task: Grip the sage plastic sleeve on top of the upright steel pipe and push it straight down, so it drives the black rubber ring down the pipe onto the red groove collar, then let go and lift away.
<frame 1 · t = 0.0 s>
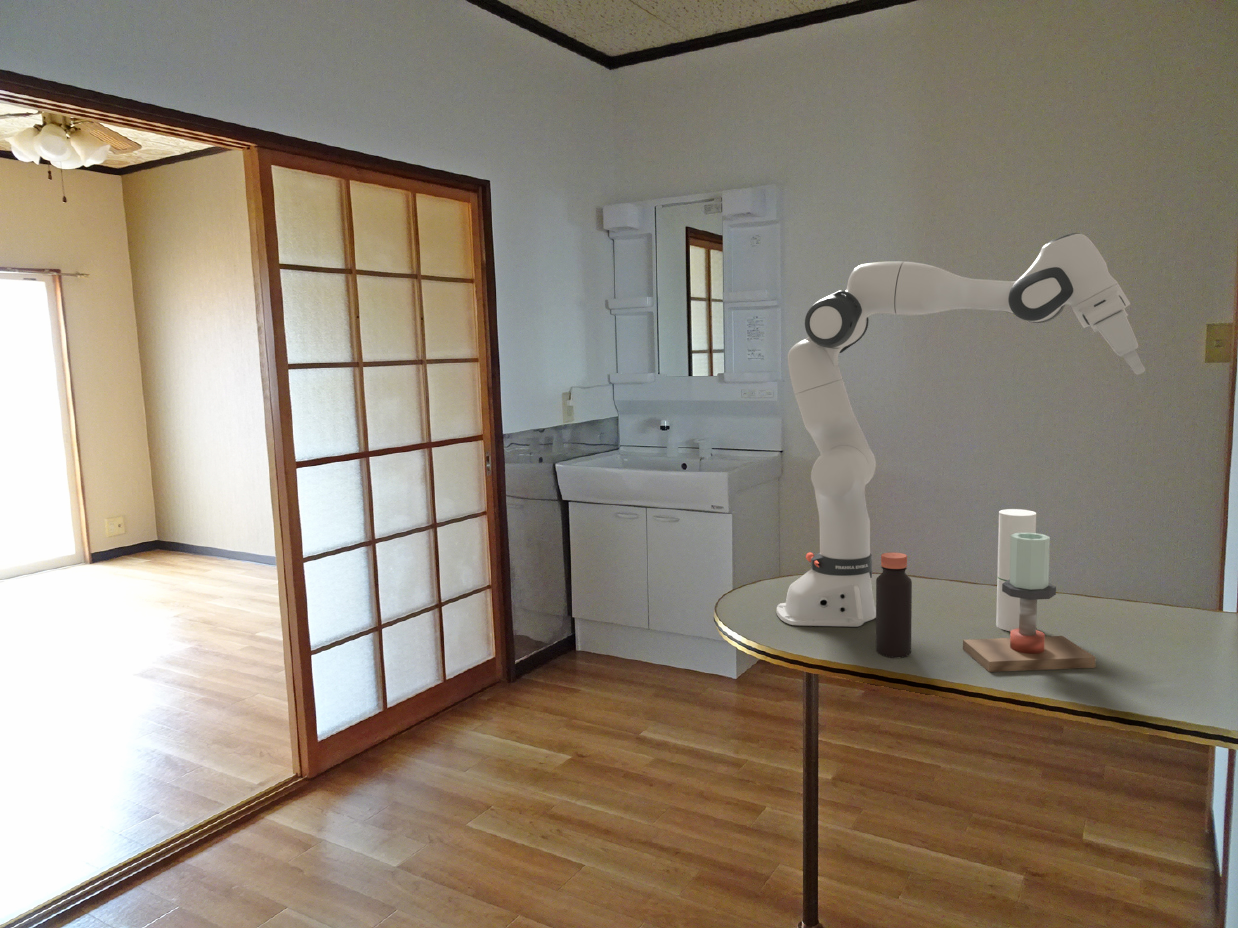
hand: (1139, 372, 164), 54 cm above the table, tool tilted 30°, fingers open, 8 cm apart
sleeve: (1029, 560, 165), point 19 cm above the table, slide at 8.0 cm
cylindrical container: (1014, 627, 185), on the table
o ring: (1028, 588, 166), point 14 cm above the table, slide at 8.0 cm
bottle: (893, 653, 173), on the table
pipe stand: (1026, 658, 167), on the table
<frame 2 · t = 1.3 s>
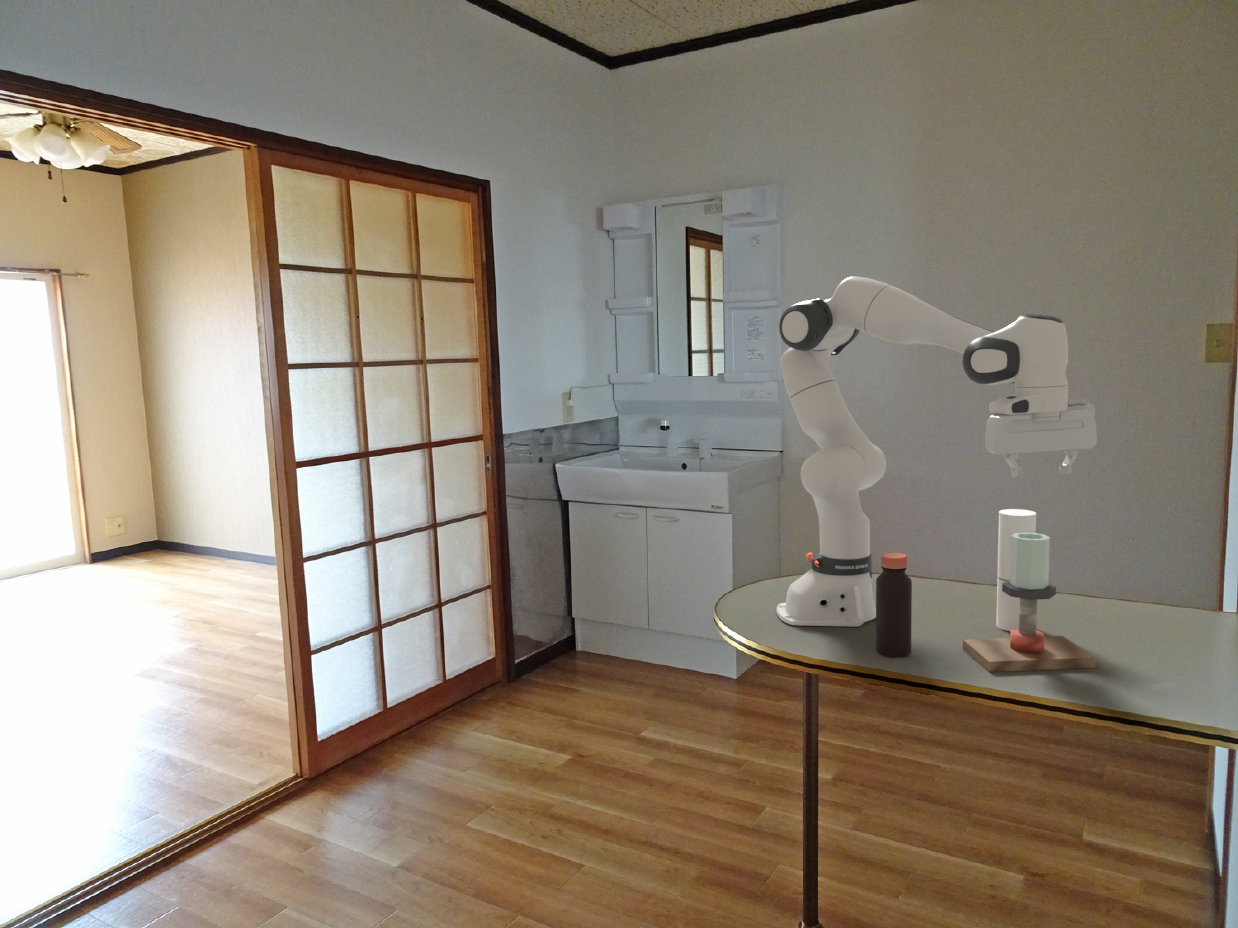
hand: (1040, 475, 163), 36 cm above the table, tool pointing down, fingers open, 8 cm apart
nothing on the table moved.
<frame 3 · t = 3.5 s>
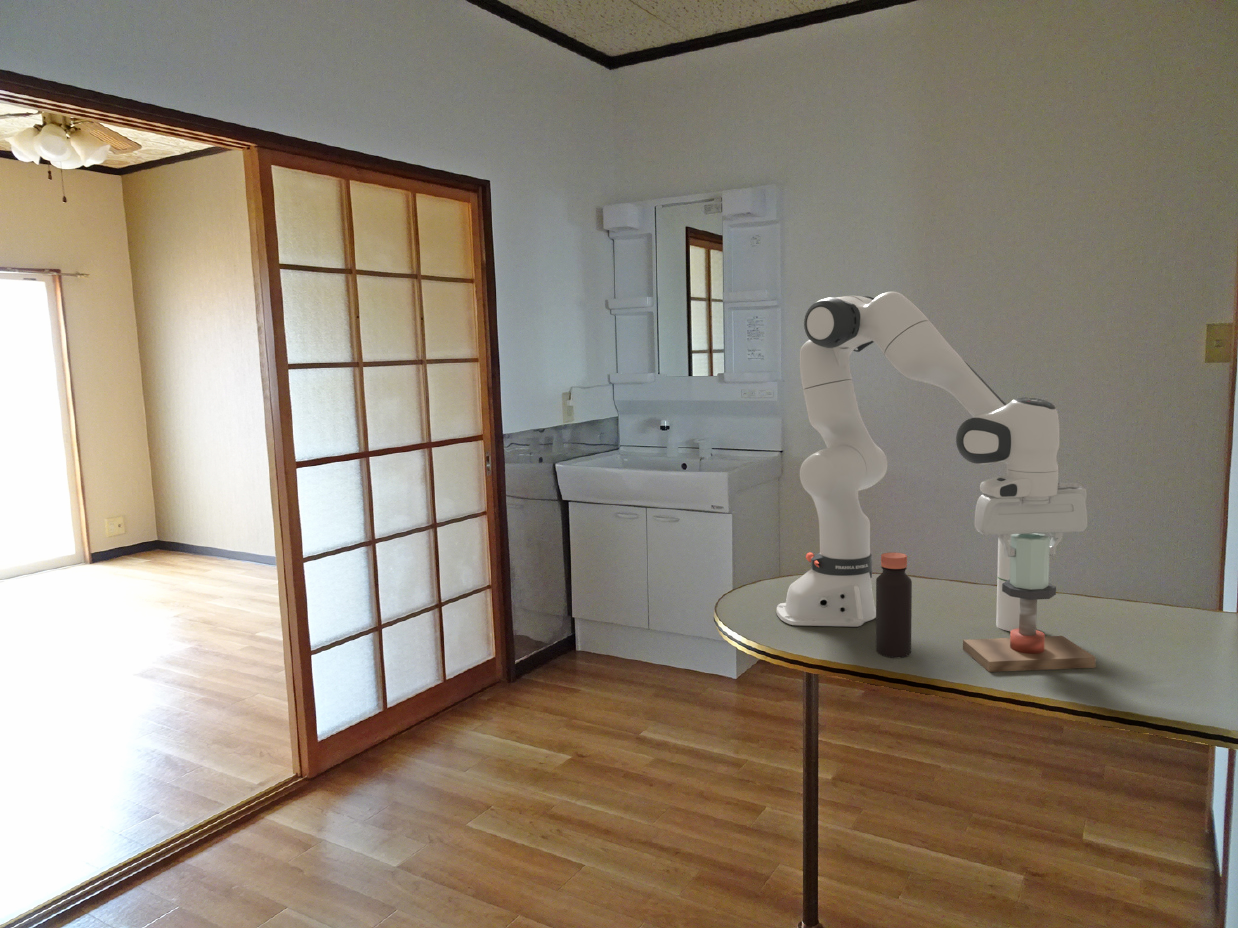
hand: (1029, 555, 165), 20 cm above the table, tool pointing down, fingers closed on sleeve, 6 cm apart
sleeve: (1029, 560, 165), point 19 cm above the table, slide at 8.0 cm, touching gripper
everything else where it was.
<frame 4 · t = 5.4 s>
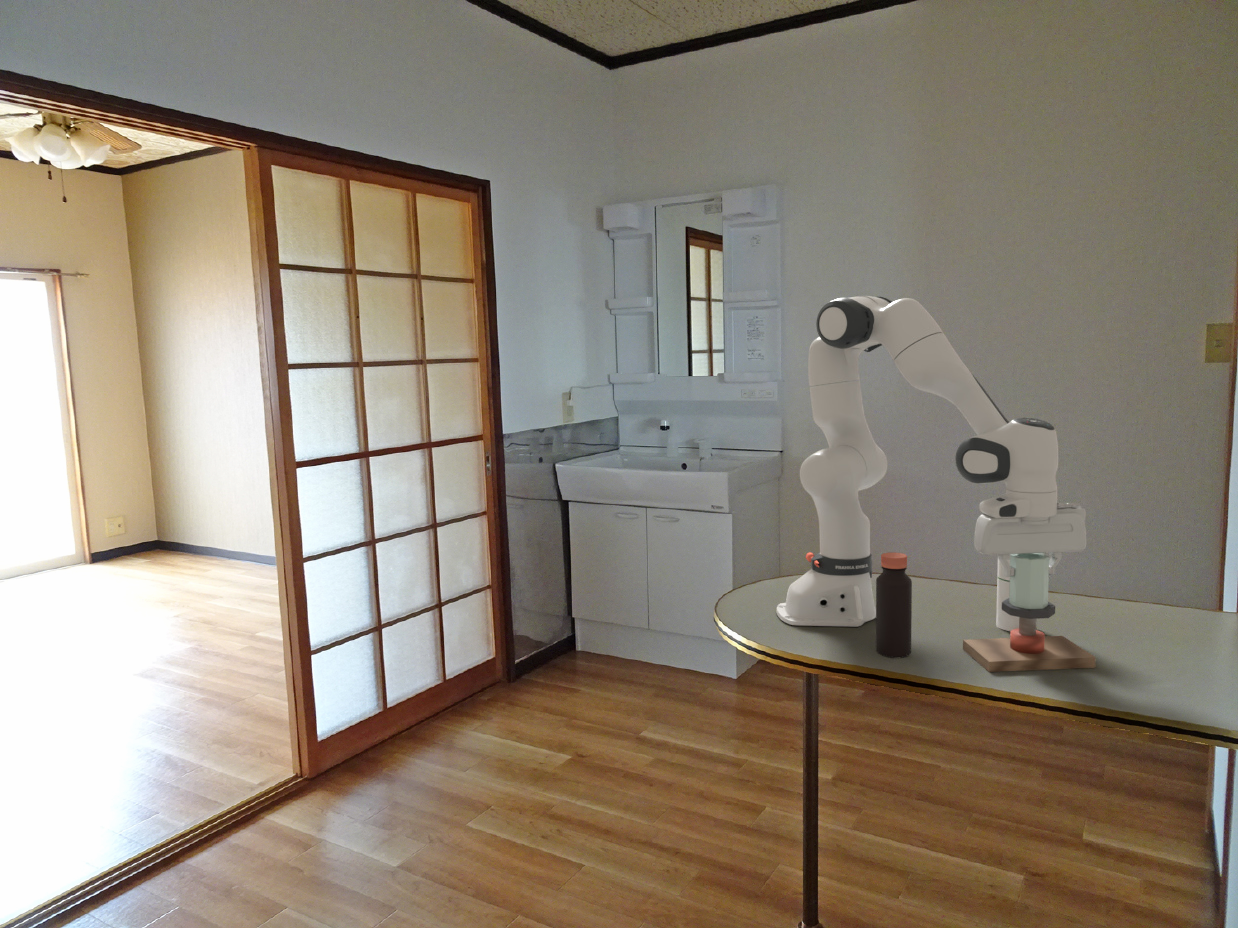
hand: (1029, 575, 165), 17 cm above the table, tool pointing down, fingers closed on sleeve, 6 cm apart
sleeve: (1029, 579, 165), point 16 cm above the table, slide at 4.2 cm, touching gripper, o ring
o ring: (1028, 607, 166), point 10 cm above the table, slide at 4.3 cm, touching sleeve
everything else where it was.
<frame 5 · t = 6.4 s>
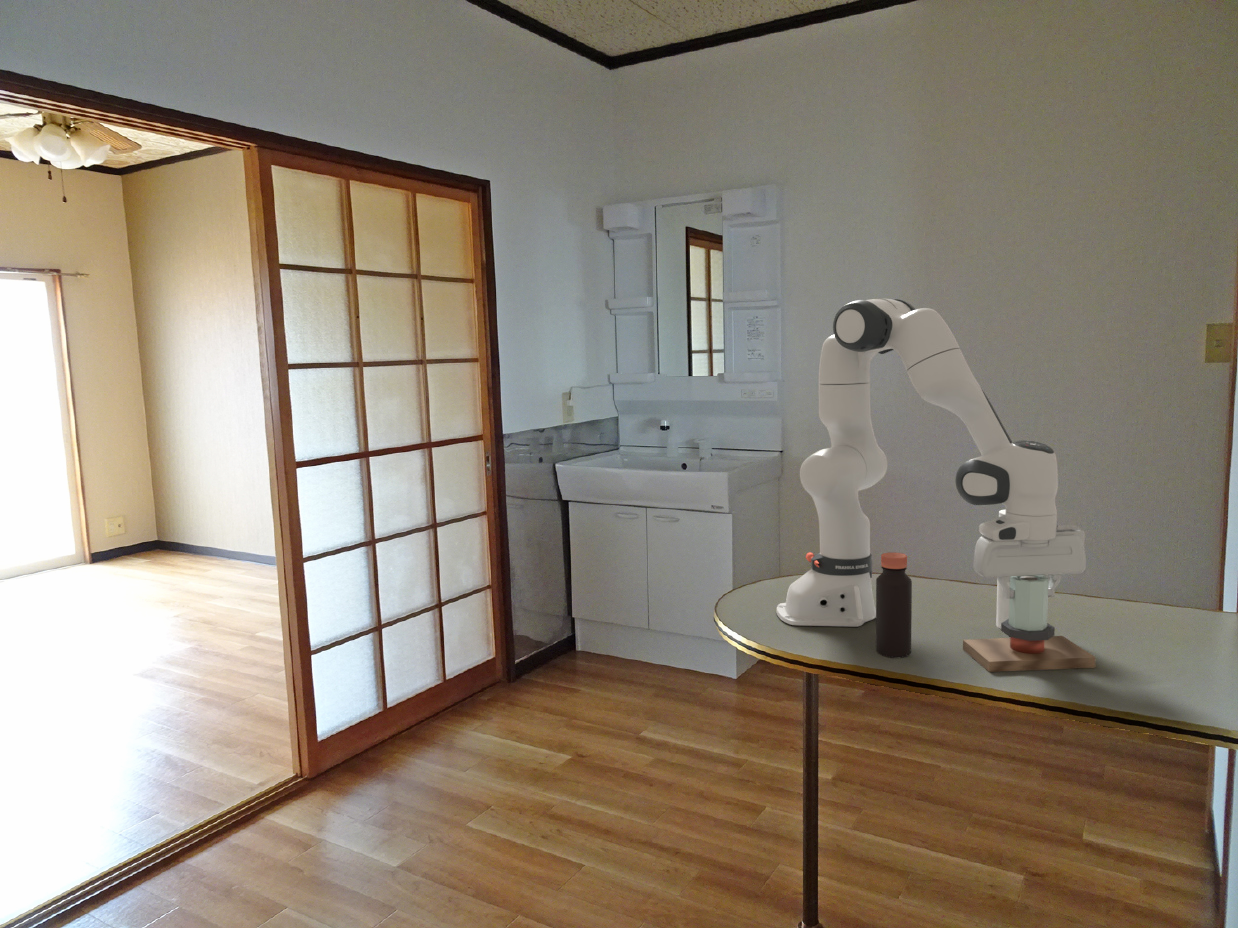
hand: (1028, 597, 166), 12 cm above the table, tool pointing down, fingers closed on sleeve, 6 cm apart
sleeve: (1028, 601, 166), point 11 cm above the table, slide at -0.1 cm, touching gripper
o ring: (1027, 628, 167), point 6 cm above the table, slide at 0.0 cm
everything else where it was.
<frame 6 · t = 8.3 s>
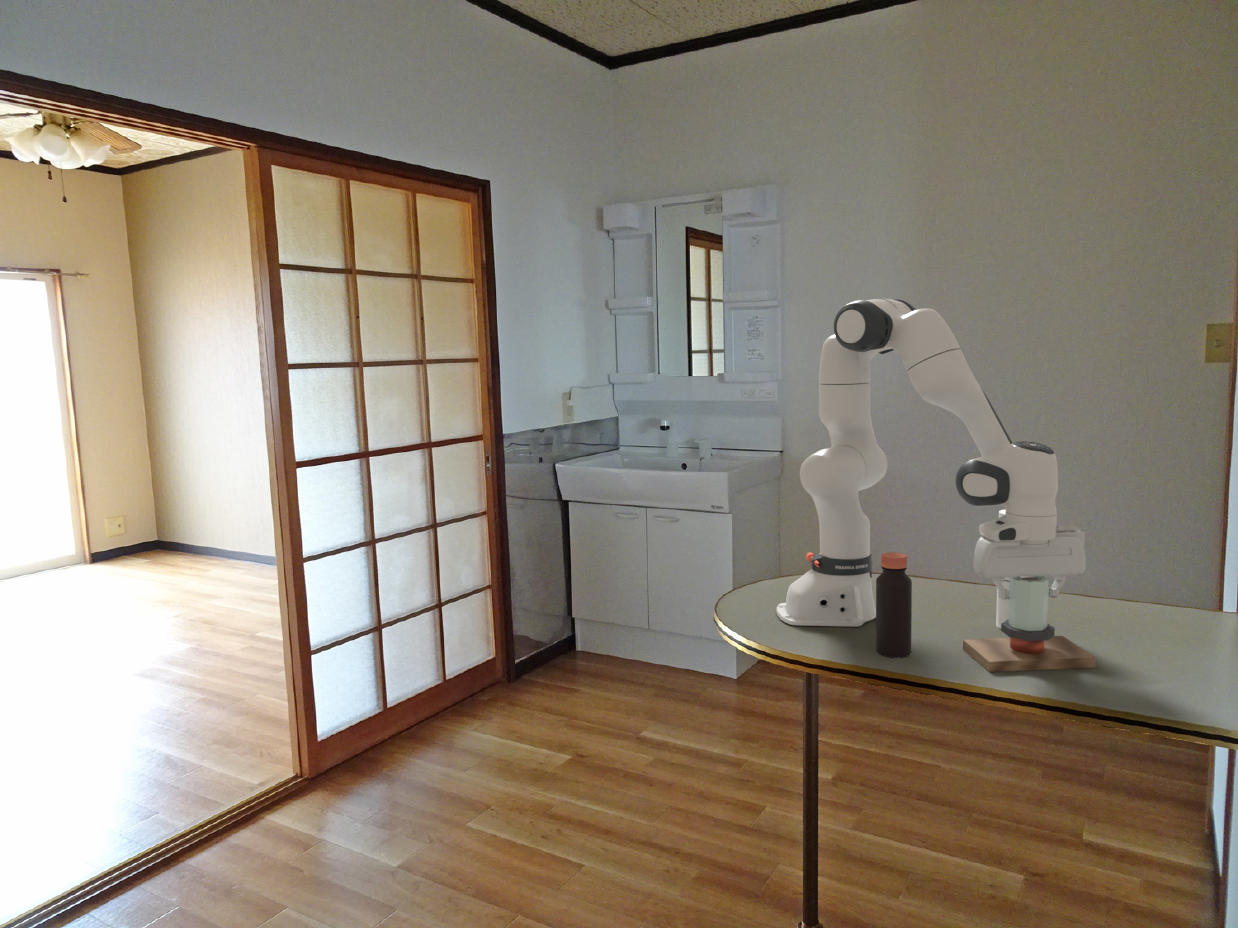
hand: (1028, 597, 166), 12 cm above the table, tool pointing down, fingers open, 8 cm apart
sleeve: (1028, 601, 166), point 11 cm above the table, slide at -0.1 cm
everything else where it was.
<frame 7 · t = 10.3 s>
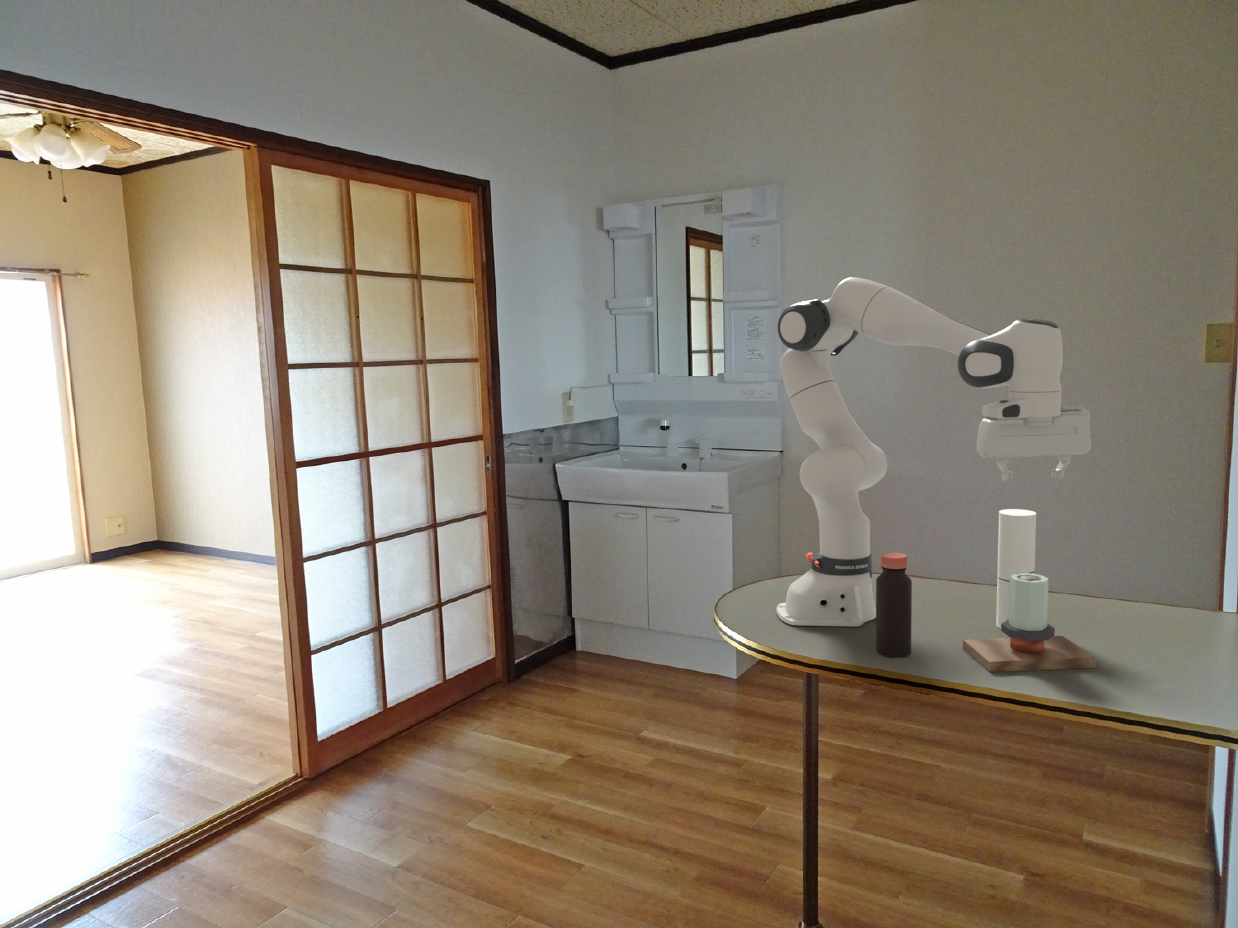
hand: (1032, 479, 163), 35 cm above the table, tool pointing down, fingers open, 8 cm apart
nothing on the table moved.
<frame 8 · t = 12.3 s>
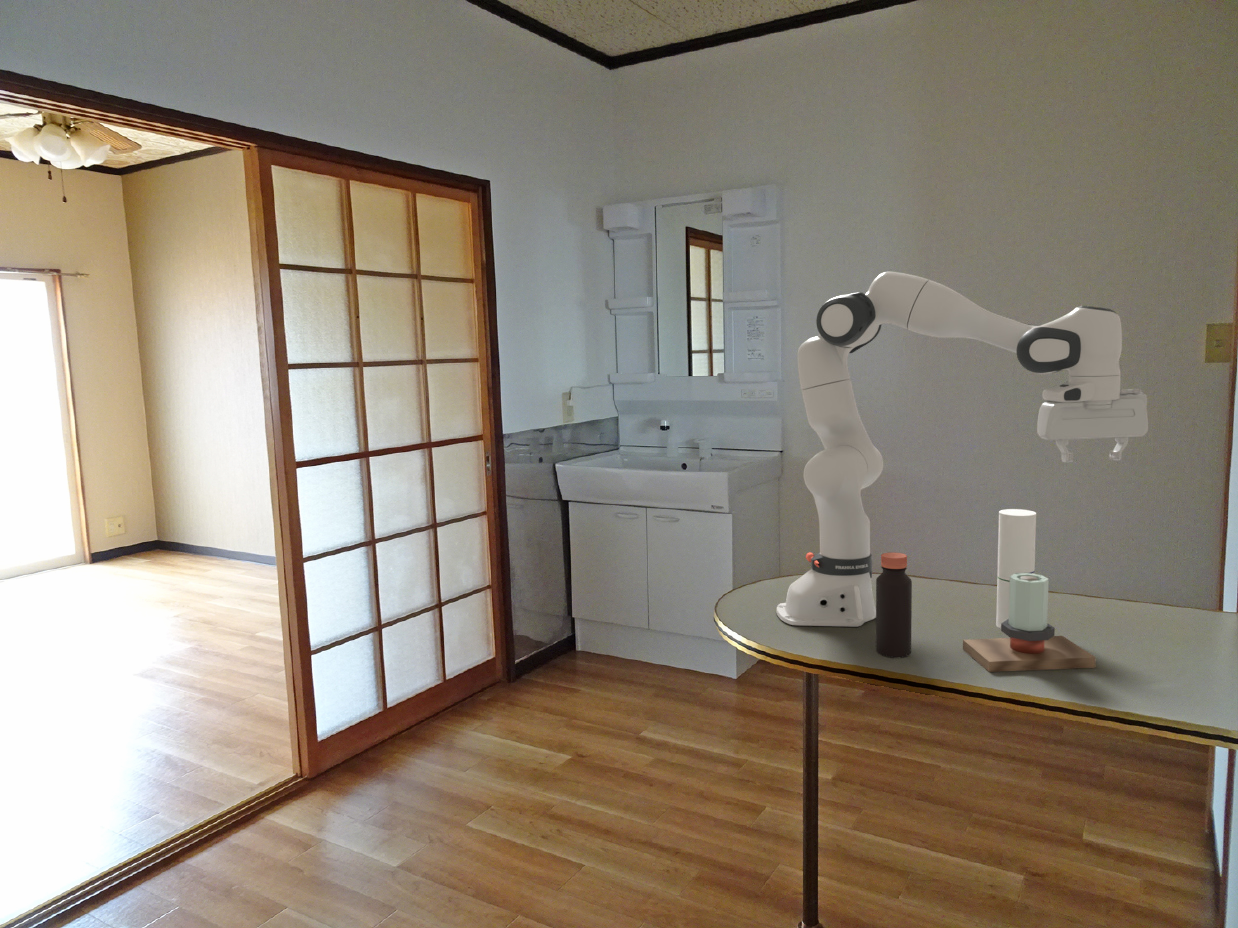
hand: (1091, 460, 169), 37 cm above the table, tool pointing down, fingers open, 8 cm apart
nothing on the table moved.
at the end: o ring slide at 0.0 cm; the gripper is holding nothing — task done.
